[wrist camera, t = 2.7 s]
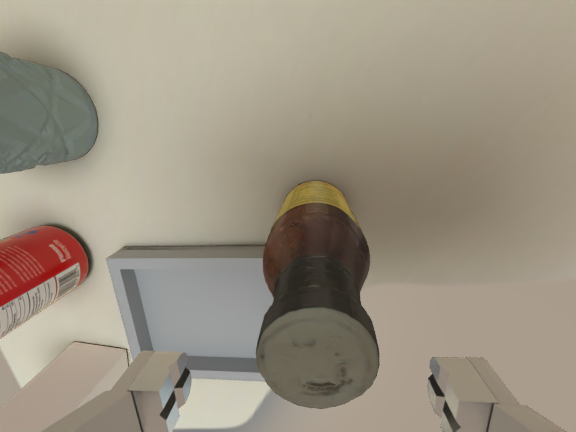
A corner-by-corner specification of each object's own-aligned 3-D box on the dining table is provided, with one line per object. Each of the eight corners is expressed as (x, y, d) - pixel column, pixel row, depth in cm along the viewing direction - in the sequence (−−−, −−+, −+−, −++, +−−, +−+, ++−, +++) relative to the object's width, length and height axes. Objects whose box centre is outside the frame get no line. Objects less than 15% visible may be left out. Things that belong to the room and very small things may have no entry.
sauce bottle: (331, 247, 29) (357, 471, 10) (274, 224, 29) (195, 409, 10) (359, 189, 27) (457, 336, 8) (298, 164, 27) (255, 256, 8)
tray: (287, 245, 30) (284, 258, 27) (293, 361, 34) (291, 382, 31) (125, 246, 31) (105, 258, 29) (151, 356, 36) (137, 375, 33)
